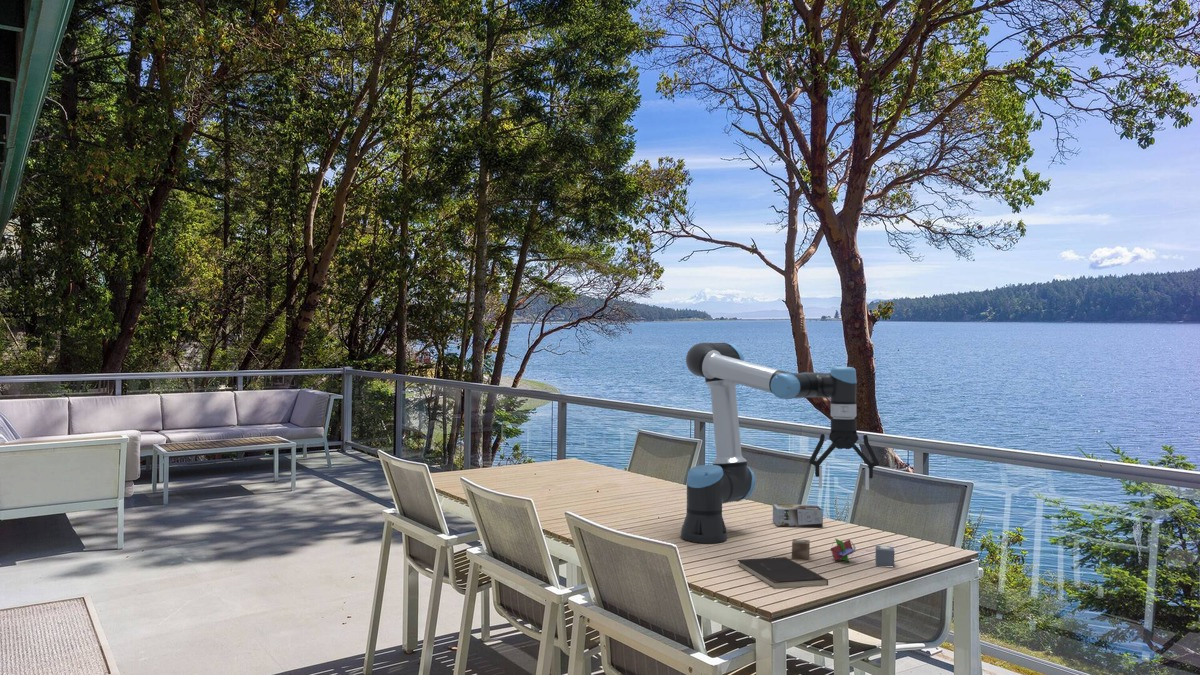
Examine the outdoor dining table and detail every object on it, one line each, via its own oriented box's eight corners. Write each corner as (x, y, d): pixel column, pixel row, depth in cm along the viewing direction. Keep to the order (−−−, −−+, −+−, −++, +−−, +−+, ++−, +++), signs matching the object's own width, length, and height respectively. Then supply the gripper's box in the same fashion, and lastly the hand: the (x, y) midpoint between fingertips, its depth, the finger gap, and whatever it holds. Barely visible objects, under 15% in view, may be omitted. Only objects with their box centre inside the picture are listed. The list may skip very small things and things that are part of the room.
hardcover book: (774, 590, 224) (774, 581, 224) (737, 567, 246) (737, 559, 246) (828, 587, 228) (828, 578, 228) (787, 564, 250) (787, 556, 250)
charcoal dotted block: (876, 566, 248) (876, 548, 248) (875, 562, 253) (875, 544, 253) (894, 568, 247) (894, 550, 247) (893, 563, 252) (893, 546, 252)
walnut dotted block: (791, 559, 255) (792, 541, 255) (792, 555, 259) (792, 538, 259) (808, 560, 253) (809, 543, 253) (809, 556, 258) (809, 539, 258)
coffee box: (776, 526, 298) (822, 527, 297) (776, 508, 298) (823, 509, 297) (772, 521, 307) (817, 522, 306) (772, 503, 307) (817, 504, 307)
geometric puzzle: (832, 557, 248) (847, 535, 250) (820, 551, 255) (835, 530, 256) (849, 571, 250) (864, 549, 251) (837, 565, 257) (851, 543, 258)
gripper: (801, 418, 255) (801, 489, 254) (888, 419, 250) (888, 492, 249) (800, 416, 262) (800, 485, 262) (885, 417, 257) (885, 488, 257)
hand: (843, 488), depth 255 cm, fingers open, 13 cm apart
